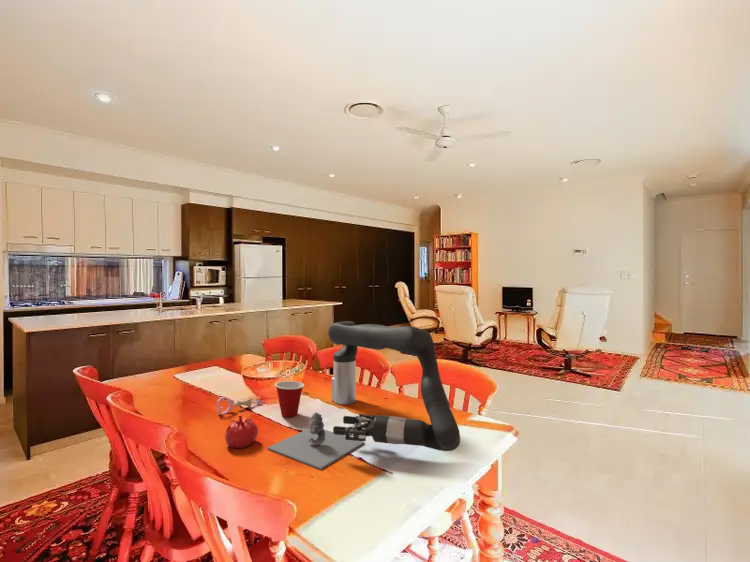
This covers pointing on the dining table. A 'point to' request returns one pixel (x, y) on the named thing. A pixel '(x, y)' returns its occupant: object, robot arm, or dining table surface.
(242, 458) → the dining table surface
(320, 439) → the grey tall lumpy piece
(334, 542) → the dining table surface
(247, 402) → the decorative key
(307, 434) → the mat
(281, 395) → the plastic cup
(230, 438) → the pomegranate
